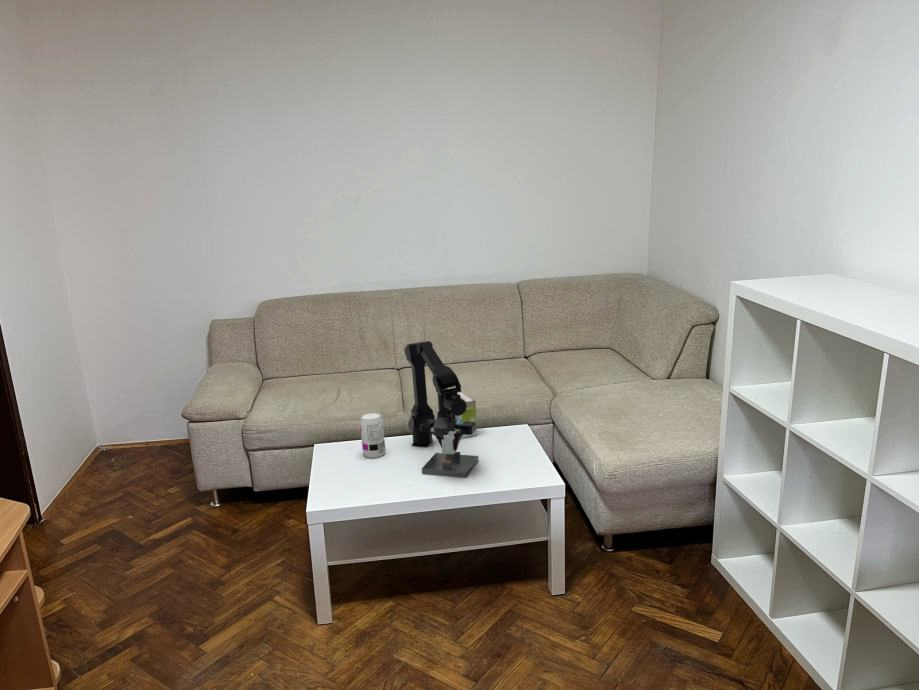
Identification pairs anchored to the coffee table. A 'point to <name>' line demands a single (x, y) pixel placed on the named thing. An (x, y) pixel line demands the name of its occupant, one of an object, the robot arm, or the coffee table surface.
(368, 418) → the supplement can
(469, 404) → the tea box
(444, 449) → the grey metal cube
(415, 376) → the robot arm
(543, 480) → the coffee table surface
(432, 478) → the coffee table surface
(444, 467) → the stand
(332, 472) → the coffee table surface
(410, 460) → the coffee table surface
